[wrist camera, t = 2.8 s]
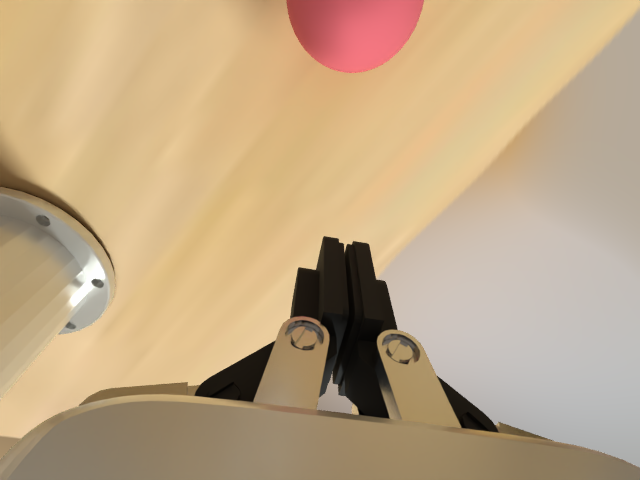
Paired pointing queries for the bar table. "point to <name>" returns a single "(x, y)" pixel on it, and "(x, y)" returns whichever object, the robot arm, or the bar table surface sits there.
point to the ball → (353, 30)
